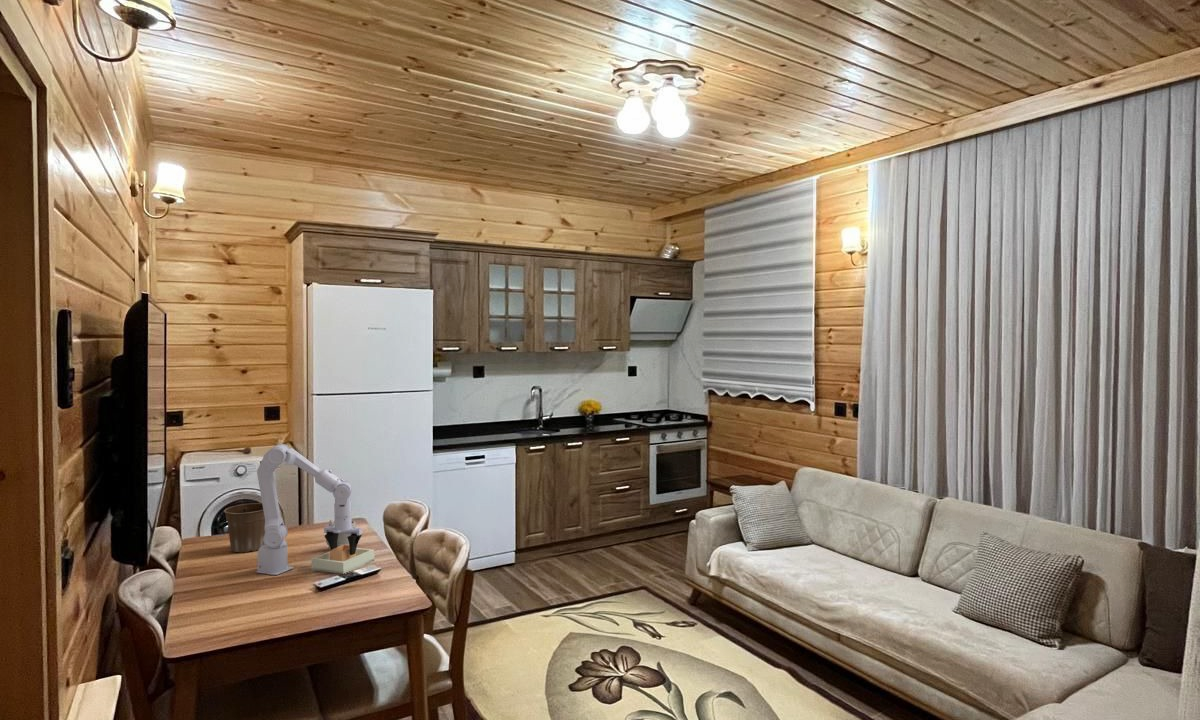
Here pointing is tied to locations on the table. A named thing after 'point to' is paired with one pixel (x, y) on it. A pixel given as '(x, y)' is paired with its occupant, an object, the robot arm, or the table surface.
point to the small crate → (341, 553)
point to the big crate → (341, 567)
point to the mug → (341, 536)
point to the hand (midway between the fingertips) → (343, 553)
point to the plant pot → (246, 526)
